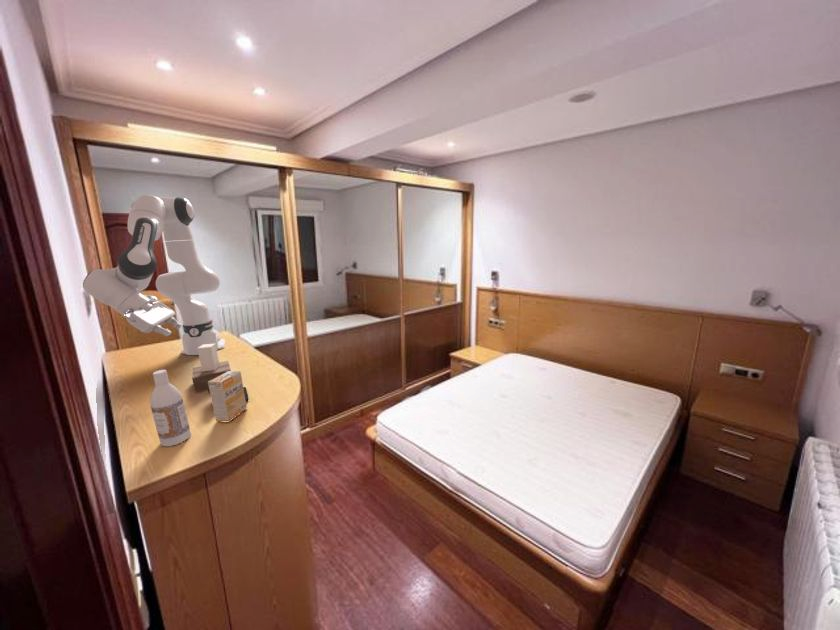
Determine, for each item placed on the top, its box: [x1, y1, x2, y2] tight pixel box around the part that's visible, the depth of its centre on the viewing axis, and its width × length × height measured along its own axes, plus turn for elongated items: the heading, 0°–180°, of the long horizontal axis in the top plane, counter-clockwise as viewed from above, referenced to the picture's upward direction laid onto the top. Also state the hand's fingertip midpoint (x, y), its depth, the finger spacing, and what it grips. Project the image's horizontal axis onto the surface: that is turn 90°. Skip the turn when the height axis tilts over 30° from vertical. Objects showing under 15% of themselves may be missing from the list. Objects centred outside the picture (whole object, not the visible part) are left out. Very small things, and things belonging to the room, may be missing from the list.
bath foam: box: [149, 369, 192, 447], centre depth 92 cm, size 7×7×20 cm
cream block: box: [198, 343, 220, 372], centre depth 129 cm, size 4×4×9 cm
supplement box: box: [208, 370, 248, 422], centre depth 105 cm, size 8×5×13 cm, turn 168°
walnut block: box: [191, 360, 232, 394], centre depth 130 cm, size 12×12×6 cm
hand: (175, 330), depth 124 cm, fingers open, 8 cm apart
